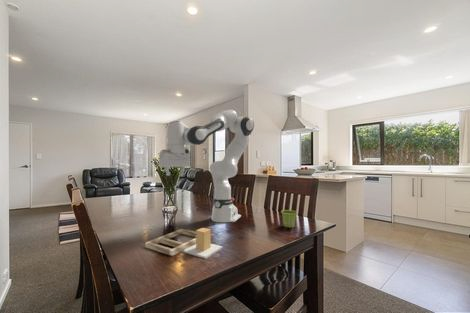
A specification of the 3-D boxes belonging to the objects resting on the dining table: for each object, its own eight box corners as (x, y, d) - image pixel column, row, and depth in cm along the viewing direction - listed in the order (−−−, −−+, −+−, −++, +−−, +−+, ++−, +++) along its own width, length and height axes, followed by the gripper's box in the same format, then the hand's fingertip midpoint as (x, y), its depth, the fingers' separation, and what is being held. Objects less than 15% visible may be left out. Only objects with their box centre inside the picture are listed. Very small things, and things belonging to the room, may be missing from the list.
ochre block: (202, 245, 96) (202, 227, 96) (210, 247, 94) (210, 229, 94) (196, 248, 92) (196, 230, 92) (204, 251, 90) (204, 232, 90)
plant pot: (295, 224, 132) (295, 210, 132) (298, 229, 122) (298, 214, 122) (280, 223, 132) (280, 209, 133) (282, 228, 123) (282, 213, 123)
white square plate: (201, 242, 101) (201, 241, 101) (222, 248, 95) (222, 246, 95) (183, 252, 91) (183, 250, 91) (205, 258, 85) (205, 256, 85)
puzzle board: (181, 232, 116) (181, 228, 116) (206, 238, 107) (206, 234, 107) (145, 247, 96) (145, 242, 96) (172, 255, 87) (172, 250, 87)
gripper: (164, 149, 107) (164, 176, 107) (191, 150, 125) (191, 174, 125) (155, 149, 110) (155, 176, 110) (183, 151, 128) (183, 173, 128)
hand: (174, 175), depth 118 cm, fingers open, 8 cm apart
